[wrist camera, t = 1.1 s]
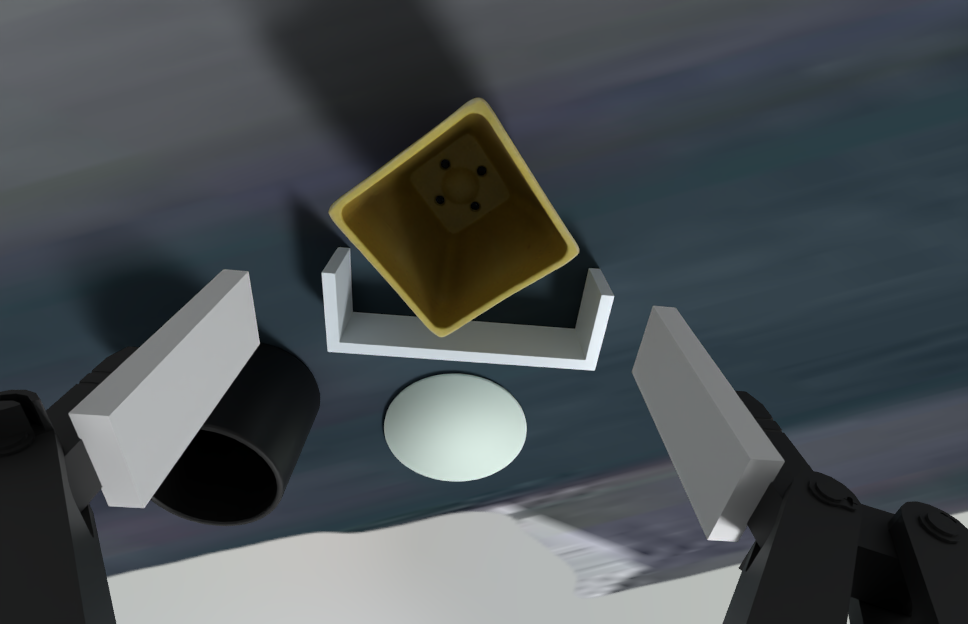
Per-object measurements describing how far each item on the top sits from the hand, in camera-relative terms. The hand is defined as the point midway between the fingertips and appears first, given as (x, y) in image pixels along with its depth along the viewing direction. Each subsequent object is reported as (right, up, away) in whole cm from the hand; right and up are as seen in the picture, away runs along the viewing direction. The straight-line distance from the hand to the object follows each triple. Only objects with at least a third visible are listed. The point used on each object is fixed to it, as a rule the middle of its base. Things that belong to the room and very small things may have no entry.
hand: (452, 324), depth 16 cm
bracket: (0, +2, +18) cm, 18 cm away
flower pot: (0, +9, +15) cm, 17 cm away
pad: (-1, -10, +25) cm, 27 cm away
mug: (-18, -6, +23) cm, 29 cm away
